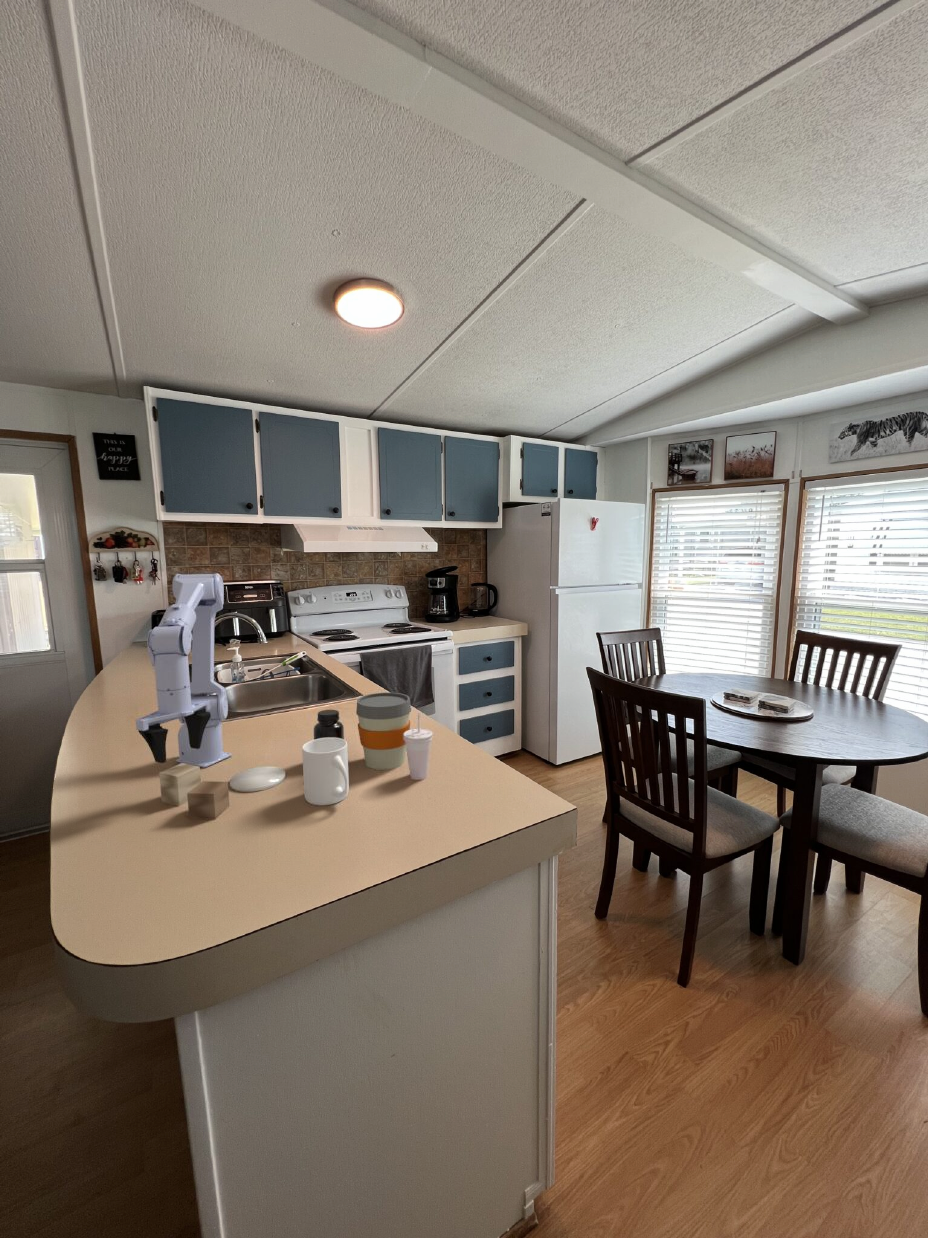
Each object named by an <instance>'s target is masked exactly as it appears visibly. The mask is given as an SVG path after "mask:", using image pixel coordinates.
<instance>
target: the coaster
mask: <svg viewBox="0 0 928 1238" xmlns="http://www.w3.org/2000/svg"><path fill="white" fill-rule="evenodd" d="M285 780H286V771H285V770H284V769H283V768H281V767H278V766H270V765H269V766H257V767H256V766H255V767H251V768H248V769H245V770H242V771H240V772H238V773H235V774H234V775H233V776H232V777H231V778H230V780H229V787H230V789H232V790H234V791H235V792H240V793H253V792H260V791H266V790H268V789H271V788H273V787H276V786H278V785H280V784H281V783H283V782H284V781H285Z"/></svg>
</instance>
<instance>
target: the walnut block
mask: <svg viewBox="0 0 928 1238" xmlns="http://www.w3.org/2000/svg"><path fill="white" fill-rule="evenodd" d="M229 792H230V791H229V781H211V780H210V781H204V780H203V781H202V780H201V783H200V784H199V785H197V786H196V787H195V788H193V789H192V790H191V791H189V792H188V793H187V797H188V802H187V808H188V819H191V820H192V819H193V820H216V819H218V817H220V816H221V815H222V814H223V813H224V812H225V811H226V810H228V809H229V807H230V796H229V795H230V794H229Z"/></svg>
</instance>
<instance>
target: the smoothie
mask: <svg viewBox="0 0 928 1238" xmlns="http://www.w3.org/2000/svg"><path fill="white" fill-rule="evenodd" d="M421 725H422V724H421V713H420V712H417V728H414V729H410V730H408V731H406V732H405V733H404V734H403V735H404V737H403V739H404V740H405V744H406V754H407V755H406V757H407V762H408V763H407V764H408V770H409V776H410V779H412V780H415V781H420V780H422V781H423V780H424V779H427V778H428V773H429V765H430V764H429V763H430V755H431V747H432V739H433V738H434V736H433V731H432V730H430V729H426V728H421Z"/></svg>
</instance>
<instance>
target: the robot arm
mask: <svg viewBox="0 0 928 1238" xmlns="http://www.w3.org/2000/svg"><path fill="white" fill-rule="evenodd" d="M224 587H225V586H224V580H223V577H222V576H221V574H219V573H198V574H197V573H193V574H181V573H176V574H175V575H174V577H173V579H172V593H173V597H174V598H175V602H174V603H175V604H171V605H169V606H168V607H167V608H166V610H165V612H164V614H163V616H162V618H161V620H160V622H159V624H158V626H155V627H154V628H153V629H149V631H148V633H147V639H146V641H147V644H146V645H147V650H148V654H149V656H150V663H151V666H152V667H154V677H155V689H156V700H157V702H156V703H157V710H156V711H153V712H151V713H149V714H147V715H144V716H142V717H140V718H136V719H135V729H136V730H137V731H138V733H139V734H140V736H141V737H142V738H143V739H144V741H145V742H146V743H147V745H148V747H149V749H150V751H151V754H152V757H153V759H154V761H155V763H156V762H157V763H160V764H163V763H166V762H167V744H166V743H167V738H168V736H167V735H168V733H169V729H168V728H163V726H162V724H165V723H169V722H171V721H175V720H178V721H179V722H180V723H181V724H182V725H181V726H180V727H179V729H178V733H177V744H178V757H179V758H177V759H176V760H175V761H176V762H177V763H179V764H181V763H184V764H189V765H194V766H198V767H200V768H207V767H210V766H211V765H214V764H216V763H218V762H221V761H223V760H226V759H228V758H230V757H232V756H233V754H232V753H231V752H225V751H224V745H223V742H224V741H223V726H222V722H223V721H225V720H226V718H227V717H228V714H229V713H228V712H229V705H228V704H229V702H228V696H227V695H228V694H227V690H226V688H225V687H224V686H222V685H221V684H220V683H218V682H216V681H215V680H214V679H215V621H216V615H217V613H218V612H219V611H221V610H223V608H224V606H223V605H224V601H225V600H224V598H225V596H224V595H225V593H224V592H225V591H224V590H225V589H224ZM191 648H192V649H191ZM190 653H192V654H191V681H190V668H189V667H190V666H189V654H190ZM207 694H208V695H207Z"/></svg>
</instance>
